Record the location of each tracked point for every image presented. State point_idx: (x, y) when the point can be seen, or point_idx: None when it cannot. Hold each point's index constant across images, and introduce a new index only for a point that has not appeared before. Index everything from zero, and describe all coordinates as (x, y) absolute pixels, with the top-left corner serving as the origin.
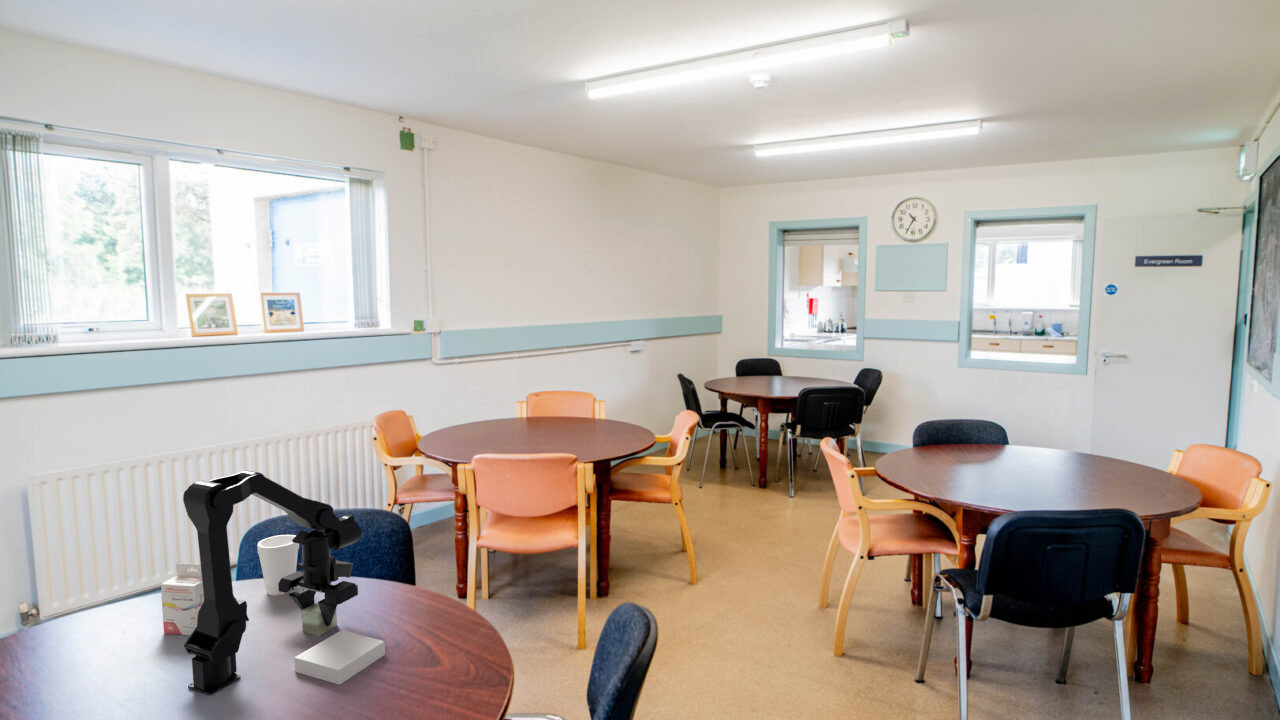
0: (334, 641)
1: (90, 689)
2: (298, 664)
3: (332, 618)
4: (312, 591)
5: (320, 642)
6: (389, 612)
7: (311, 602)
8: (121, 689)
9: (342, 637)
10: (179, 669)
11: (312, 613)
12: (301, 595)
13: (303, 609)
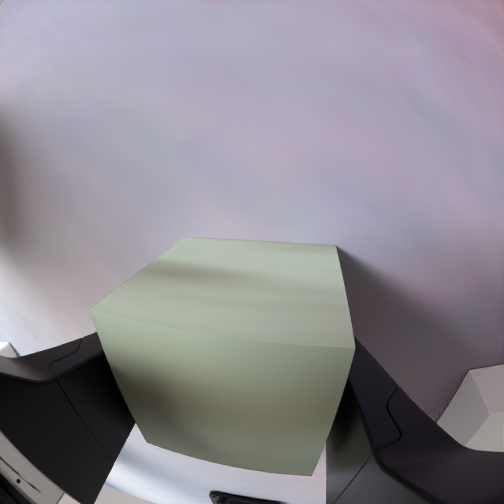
0: None
1: (114, 479)
2: None
3: (362, 348)
4: (18, 423)
5: None
6: (484, 13)
7: (94, 385)
8: (141, 489)
9: (501, 434)
10: (141, 473)
11: (252, 465)
12: (74, 491)
13: (145, 436)
